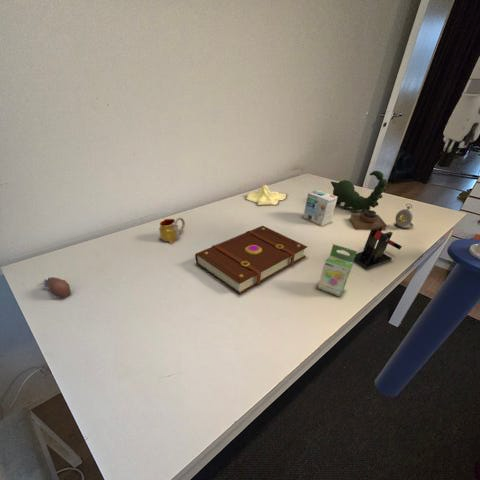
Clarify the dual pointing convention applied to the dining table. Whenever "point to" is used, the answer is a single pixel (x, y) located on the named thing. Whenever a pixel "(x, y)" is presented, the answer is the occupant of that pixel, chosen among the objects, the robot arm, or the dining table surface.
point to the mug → (170, 229)
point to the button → (370, 213)
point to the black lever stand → (374, 250)
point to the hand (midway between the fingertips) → (442, 166)
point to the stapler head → (389, 240)
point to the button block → (367, 221)
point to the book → (250, 258)
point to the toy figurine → (353, 199)
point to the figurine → (57, 287)
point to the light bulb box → (320, 207)
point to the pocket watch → (404, 218)
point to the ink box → (336, 270)
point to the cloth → (265, 196)
